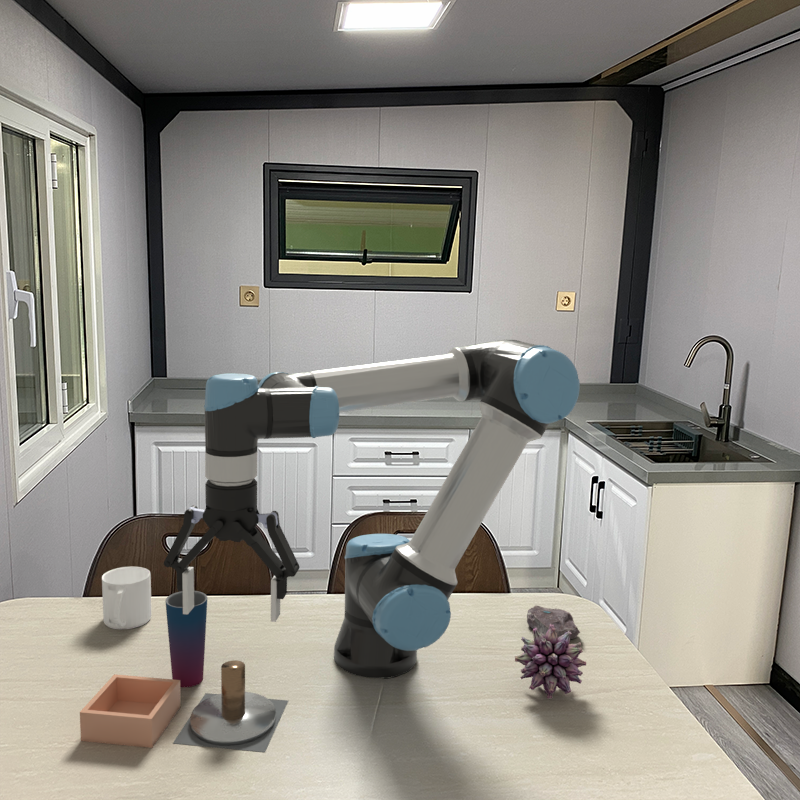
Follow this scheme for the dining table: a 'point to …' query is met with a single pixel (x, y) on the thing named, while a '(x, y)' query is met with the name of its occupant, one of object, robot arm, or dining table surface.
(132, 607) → the mug
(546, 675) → the flower
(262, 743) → the mat
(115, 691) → the dish
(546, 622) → the rock
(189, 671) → the cup
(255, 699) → the lid
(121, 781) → the dining table surface
